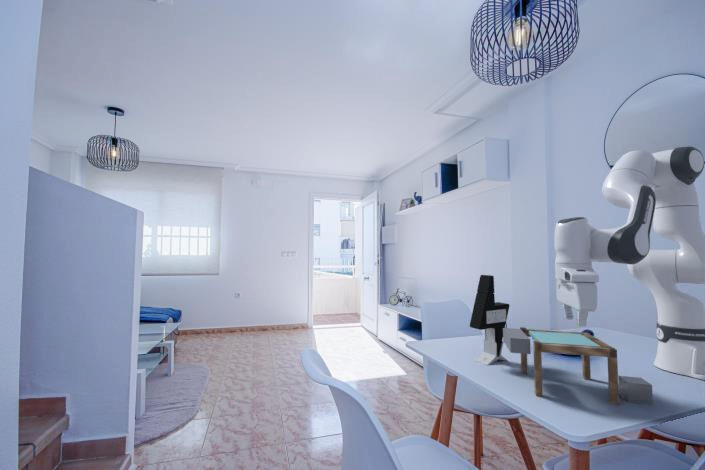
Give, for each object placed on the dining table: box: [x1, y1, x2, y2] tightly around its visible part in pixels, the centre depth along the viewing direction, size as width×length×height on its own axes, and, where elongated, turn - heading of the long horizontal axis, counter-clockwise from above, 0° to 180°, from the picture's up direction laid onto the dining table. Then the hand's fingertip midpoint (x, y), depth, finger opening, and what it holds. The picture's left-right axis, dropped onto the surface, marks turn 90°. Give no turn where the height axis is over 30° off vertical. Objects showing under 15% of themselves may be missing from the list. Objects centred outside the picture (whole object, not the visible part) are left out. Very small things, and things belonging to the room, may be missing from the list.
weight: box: [618, 375, 654, 406], centre depth 85 cm, size 5×5×5 cm
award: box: [469, 274, 510, 366], centre depth 116 cm, size 15×5×30 cm, turn 117°
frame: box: [519, 326, 620, 406], centre depth 93 cm, size 18×18×14 cm
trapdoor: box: [502, 327, 601, 355], centre depth 95 cm, size 22×14×4 cm, turn 74°
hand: (575, 322), depth 93 cm, fingers open, 8 cm apart
